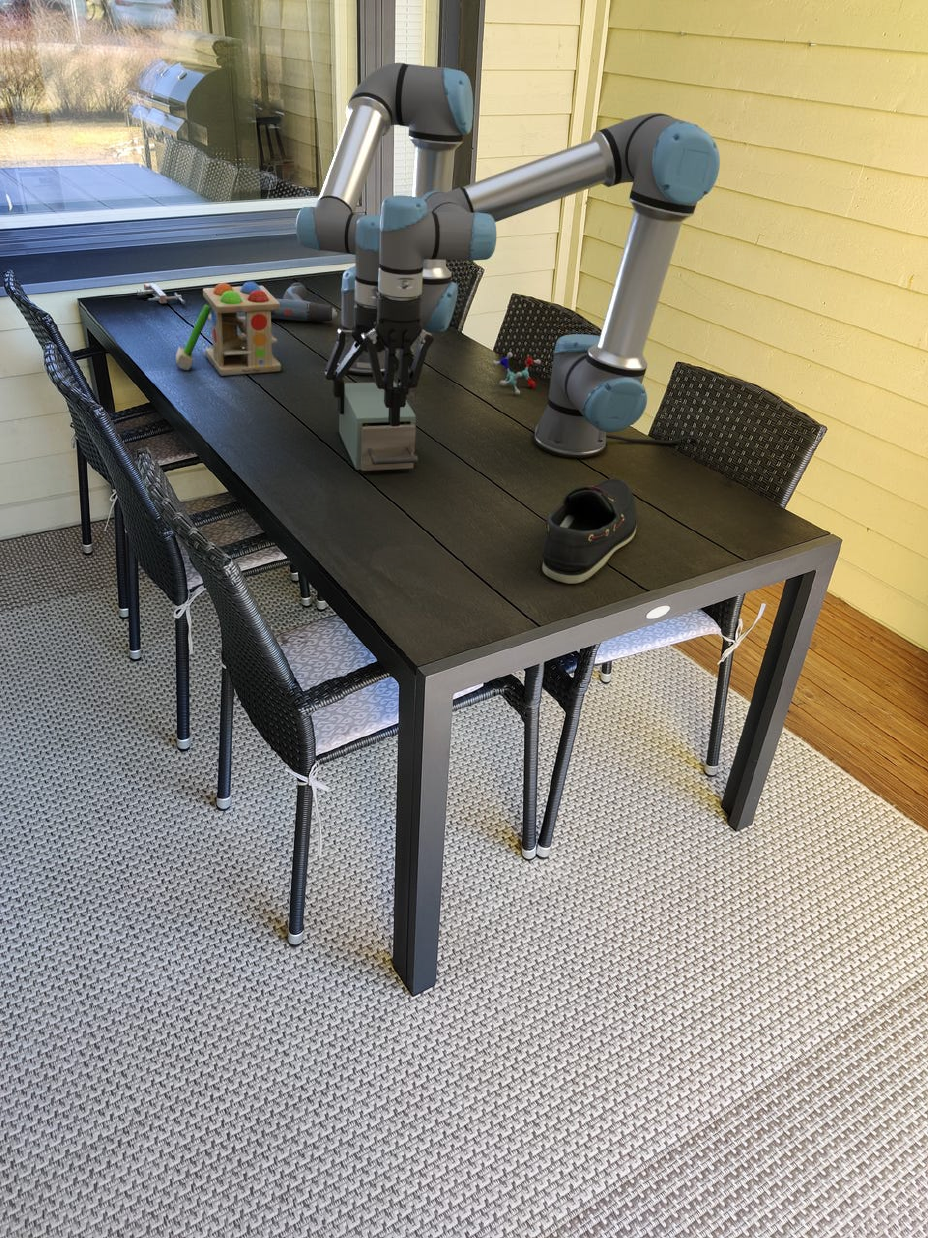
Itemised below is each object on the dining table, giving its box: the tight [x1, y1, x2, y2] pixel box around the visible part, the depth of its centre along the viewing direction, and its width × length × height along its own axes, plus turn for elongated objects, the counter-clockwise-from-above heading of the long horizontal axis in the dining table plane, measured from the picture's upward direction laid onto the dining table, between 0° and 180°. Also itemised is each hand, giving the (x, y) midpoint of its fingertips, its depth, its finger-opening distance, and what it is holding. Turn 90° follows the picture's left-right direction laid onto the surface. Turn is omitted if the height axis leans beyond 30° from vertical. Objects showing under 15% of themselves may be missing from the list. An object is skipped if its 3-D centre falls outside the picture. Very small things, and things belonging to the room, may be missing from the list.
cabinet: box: [338, 381, 417, 471], centre depth 196 cm, size 18×11×11 cm, turn 17°
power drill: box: [271, 282, 338, 322], centre depth 265 cm, size 5×19×20 cm
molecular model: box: [491, 351, 542, 396], centre depth 231 cm, size 12×10×10 cm
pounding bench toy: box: [174, 281, 282, 377], centre depth 225 cm, size 23×14×18 cm, turn 116°
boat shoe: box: [541, 478, 638, 585], centre depth 172 cm, size 13×33×10 cm, turn 147°
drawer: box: [360, 421, 419, 472], centre depth 191 cm, size 22×10×9 cm, turn 17°
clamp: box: [136, 283, 186, 305], centre depth 265 cm, size 15×2×10 cm
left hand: (370, 410), depth 200 cm, fingers closed on cabinet, 11 cm apart
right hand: (393, 423), depth 181 cm, fingers closed
